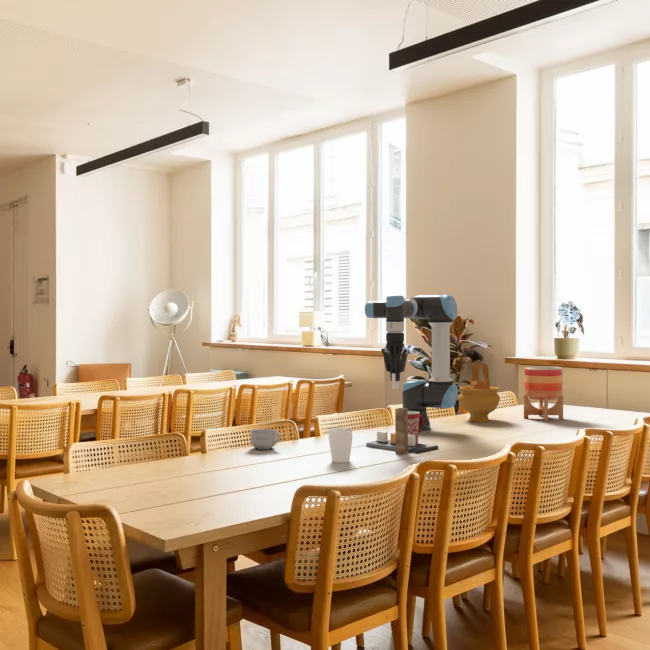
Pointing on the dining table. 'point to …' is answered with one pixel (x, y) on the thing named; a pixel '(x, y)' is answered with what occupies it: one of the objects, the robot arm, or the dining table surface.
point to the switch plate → (392, 445)
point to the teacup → (264, 438)
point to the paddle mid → (393, 438)
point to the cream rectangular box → (411, 440)
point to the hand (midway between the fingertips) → (395, 388)
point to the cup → (340, 444)
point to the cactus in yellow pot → (479, 395)
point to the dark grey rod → (426, 449)
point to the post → (401, 430)
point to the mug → (414, 424)
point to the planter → (543, 390)
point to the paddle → (382, 436)
